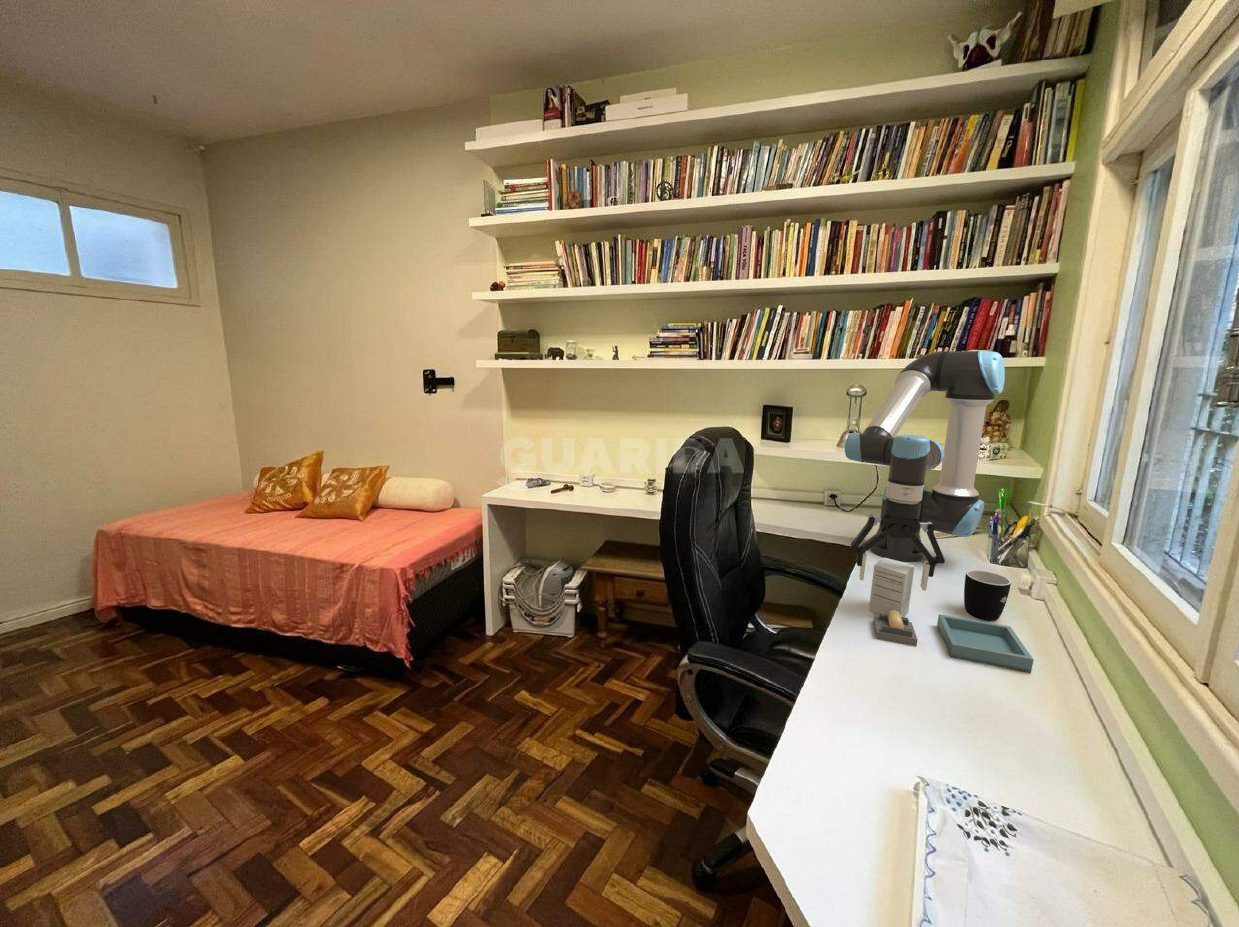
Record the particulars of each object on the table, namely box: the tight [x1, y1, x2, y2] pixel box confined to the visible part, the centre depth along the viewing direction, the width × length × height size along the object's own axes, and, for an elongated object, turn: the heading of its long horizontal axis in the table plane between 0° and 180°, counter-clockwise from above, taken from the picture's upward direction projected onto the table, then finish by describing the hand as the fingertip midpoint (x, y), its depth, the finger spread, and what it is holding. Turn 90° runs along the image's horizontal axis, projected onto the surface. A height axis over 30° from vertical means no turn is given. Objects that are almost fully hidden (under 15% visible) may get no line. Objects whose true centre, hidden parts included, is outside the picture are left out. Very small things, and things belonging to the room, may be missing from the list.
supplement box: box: [868, 557, 915, 617], centre depth 125 cm, size 7×7×13 cm
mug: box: [963, 569, 1012, 622], centre depth 125 cm, size 12×9×10 cm
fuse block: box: [872, 610, 919, 647], centre depth 115 cm, size 8×8×4 cm
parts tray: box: [936, 613, 1035, 674], centre depth 110 cm, size 14×14×3 cm
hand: (891, 583), depth 124 cm, fingers open, 13 cm apart
